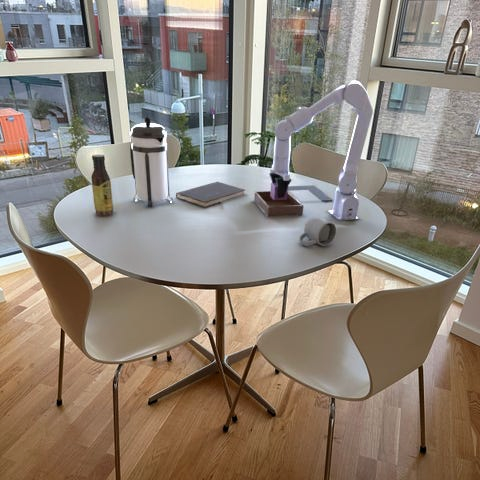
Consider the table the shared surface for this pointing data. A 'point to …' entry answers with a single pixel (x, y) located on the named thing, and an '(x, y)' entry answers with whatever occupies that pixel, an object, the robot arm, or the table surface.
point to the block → (275, 192)
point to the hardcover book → (209, 194)
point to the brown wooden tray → (278, 205)
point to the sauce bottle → (101, 187)
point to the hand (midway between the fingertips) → (278, 194)
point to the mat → (313, 190)
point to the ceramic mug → (318, 232)
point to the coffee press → (150, 162)
